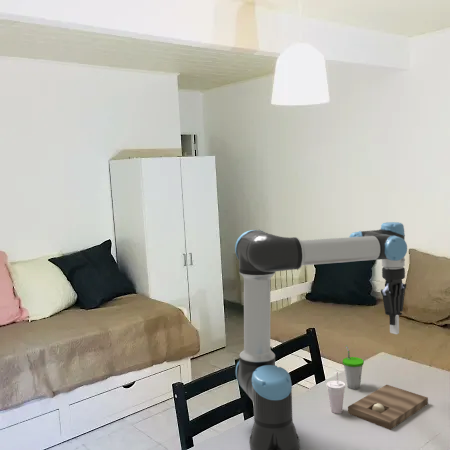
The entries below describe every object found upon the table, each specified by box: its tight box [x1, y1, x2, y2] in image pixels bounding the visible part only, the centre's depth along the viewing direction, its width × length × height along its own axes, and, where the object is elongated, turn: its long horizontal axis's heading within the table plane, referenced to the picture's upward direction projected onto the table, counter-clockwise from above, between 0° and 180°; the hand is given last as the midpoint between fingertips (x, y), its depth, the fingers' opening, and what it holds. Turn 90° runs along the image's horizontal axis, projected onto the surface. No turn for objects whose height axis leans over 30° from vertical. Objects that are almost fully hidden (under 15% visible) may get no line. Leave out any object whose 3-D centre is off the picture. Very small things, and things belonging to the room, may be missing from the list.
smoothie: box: [325, 371, 346, 415], centre depth 177 cm, size 6×6×14 cm
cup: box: [342, 345, 364, 390], centre depth 196 cm, size 8×8×15 cm
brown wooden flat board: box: [347, 384, 429, 431], centre depth 177 cm, size 24×16×2 cm, turn 131°
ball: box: [372, 403, 385, 413], centre depth 173 cm, size 4×4×4 cm
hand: (394, 333), depth 182 cm, fingers closed
